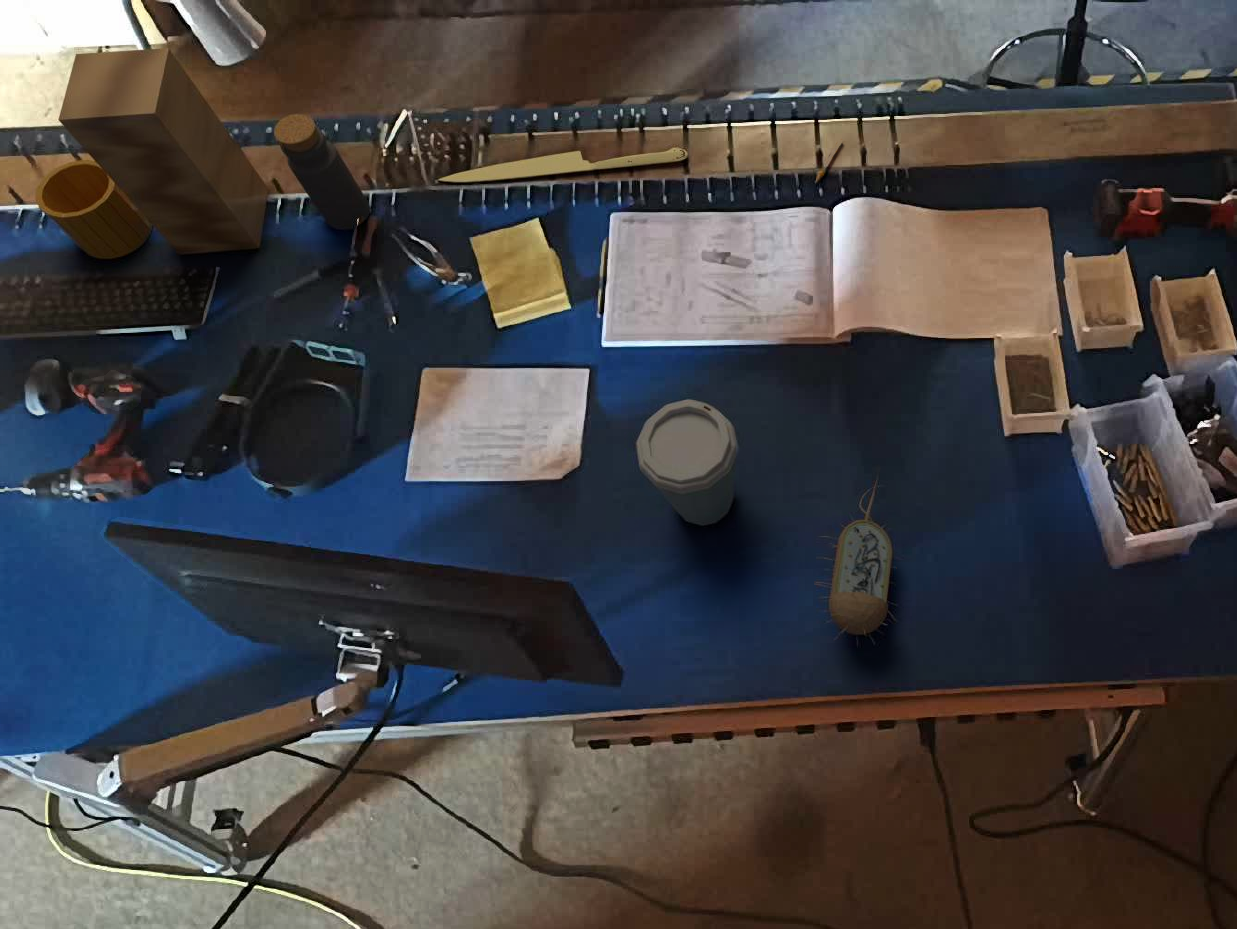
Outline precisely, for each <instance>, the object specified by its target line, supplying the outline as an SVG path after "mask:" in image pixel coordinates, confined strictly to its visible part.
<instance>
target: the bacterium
mask: <svg viewBox="0 0 1237 929" xmlns="http://www.w3.org/2000/svg"><path fill="white" fill-rule="evenodd" d="M877 471H878V472H877V476H876V480H875V483H874V486H873V487H871V488H869V489H868V490H867V491H865V493H864V494H863V495H862V497H861V499H860V501H859V504H858V507H859V510H860V511H861V512H862V513H863V514H864V515H865V517H864V519H858V520H854V518H853V516H850V518H851V520H852V522H850V523H849V524H848V525H846V527H845V526H843V525H842V524H839V526H840V527H843V528H844V529H843V530H842V532H841V533H840V535H839V537H838V538H836V537H832V536H827V535H826V536H825V535H820V536H818V537H819V538H829V539H834V540H837V545H835V544H834V543H831V542H828V544H830V545H831V546H829V547H828V549H830V548H836V554H835V559H832V558H828V557H824V559H825V560H830V561H833V562H834V565H833V573H832V578H830V579H829V578H828V579H827V578H825V579H824V580H825V581H830V580H831V583H828V582H822V581H815V585H816V586H822V587H825V588H829V589H830V593H829V596H820V597H819V596H818V599H820V601H822V602H824V603H826V602H828V609H829V610H822V612H823V613H824V612H827V613H828V612H829V614H830V615H829V616H830V617H831V619H830V620H828V621H826V622H825V624H827V623H830V622H832V621H833V622H834V623H835V625H836V626H837V627H838V630H840V631H839V633H837V634H838V635H837V636H836V637H835V638H834V639H833V641H835V640H836V639H837V638H838V637H839V636H840V634H844V632H845V633H847V634H851V635H855V636H860V635H864V636H867V634H868V636H869V637H870V639H871V641H872V642H873V645H874V646H875V645H876V643H875V641H874V639H873V637H872V636H871V635H870V634H871V633H873V632H874V631H877V632H878V633H880V634H883V635H884V632H881V631H880V630H879V629H878V628H879V627H880V626H881V625H884V626H888V624H886V623H884V621H885V620H886V621H889V622H891V619H887V618H886V617H887V615H888V614H889V615H891V617H892V618H893V620H894V621H896V622H898V623H899V621H898V620H896V619H895V617H894V616H893V615H892V613H891V612H890V611H889V604H891V605H894V606H899V605H898V604H895V603H892V602H891V601H889V600H888V593H889V584H893V585H895V583H894V582H891V581H890V578H891V577H890V575H891V568H893V569H896V566H893V565H892V559H893V558H894V559H897V560H899V561H900V560H902V561H903V559H901V558H899V557H896V556H894V555H893V547H892V543H891V539H890V537H889V535H888V534H887V533H888V530H890V529H891V527H889V528H888V530H886V531H885V530H884V529H883V528H884V527H885V526H886V524H884V525H882V526H880V525H879V524H878V523H876V522H874V521H873V517H872V516H870V513H871V509H872V506H873V502H874V499H875V498H874V497H875V493H876V490H877V488H878V487H883V486H884V485H877V484H878V480H879V475H880V471H881V467H879V468H878V470H877ZM872 489H873V490H872ZM871 490H872V494H871V498H870V501H869V504H868V506H867V510H865V509H864V508H863V507H862V504H863V500H864V498H865V497H866V495H867V494H868V492H870V491H871ZM817 559H822V557H817ZM821 569H822V570H825V571H828V569H827V568H824V567H823V568H822V567H821ZM827 585H829V586H827ZM824 598H825V599H827V600H822V599H824ZM858 646H859V640H858V637H856V647H858Z"/></svg>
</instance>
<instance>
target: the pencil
mask: <svg viewBox="0 0 1237 929" xmlns="http://www.w3.org/2000/svg"><path fill="white" fill-rule="evenodd" d="M825 173H826V171H820V170H819V171H818V172H817V175H816V179H815V183H814V184H817V183H818V182H819V181H820V180H821V179H822V177H823V176H824V175H825Z"/></svg>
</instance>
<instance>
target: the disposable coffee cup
mask: <svg viewBox="0 0 1237 929" xmlns="http://www.w3.org/2000/svg"><path fill="white" fill-rule="evenodd" d="M635 444H636V453H637V459H638V464H639V465H638V466H639V470H640V471H641V473H642V474H644V475H645V476H646V477H647V478H648V480H649V481H650V482H651V483H652V484H653V485H654V486H655V487H656V488H657V489H658V490H659V492H660V493H661V494H662V495H663V497H664V498H665V499H666V500H667V501H668V503H669V504H670V506H672V508H673V509H674V510H675V511H676V512H677V513H678V515H680V516H681V518H682V519H683V520H684V521H685V522H686V523H691V524H694V525H697V526H706V525H707V526H708V525H712V524H716V523H718V522H719V521H720V520H721V519H722V518H724V517H725V516H726V515H727V514H728V513H729V512H730V509H731V506H732V504H733V502H734V497H735V496H734V493H735V475H736V474H735V472H736V457H737V454H738V451H739V446H738V441H737V436H736V431H735V427H734V426H733V424H732V423H731V421H730V420H729V419H728V418H727V417H725V416H724V415H723V413H721V412H720V411H719V410H718V409H716V408H715V407H714V406H712V405H710V404H708V403H705V402H703V401H698V400H694V399H691V398H687V399H684V400H683V399H682V400H679V401H676V402H671V403H667V404H665V405H664V406H663V407H661V408H660V409H659V410H658V411H656V412H655V413H654V414H652V416H651V417H649V418H648V419H647V420H646V421H645V422H644V425H643V427H642V429H641V432H640V433H639V436H638V438H637V440H636V442H635Z"/></svg>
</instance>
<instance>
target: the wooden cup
mask: <svg viewBox="0 0 1237 929" xmlns="http://www.w3.org/2000/svg"><path fill="white" fill-rule="evenodd" d="M35 201H36V204H37V207H38V209H40V211H41V212H42V213H43V214H44V215H45V216H46V217H48V219H49V220H51V222H52V223H54V225H56V226H57V227H58V229H59V230H61V232H63V233H64V235H66V236H67V238H69V239H70V240H71V241H72V242H73V244H75V245H76V246H77V247H78V248H79V249H80V250H81V251H83V252H84V253H85V254H86V255H88V256H90V257H92V258H95V259H101V260H107V259H108V260H110V259H116V258H121V257H124V256H126V255H129V254H130V253H133V252H135V251H136V250H137V249H139V248H140V247H141V246H142V245H143V244H145V242H146V241H147V240H148V238H149V237H150V235H151V233H152V230H153V227H154V226H153V225H152V224H151V223H150V222H149V221H148V220H147V219H146V217H145V216H144V215H143V214H142V213H141V212H140V211H139V210H138V208H137V207H136V206H135V205H134V204H133V203H132V202H131V201H130V200H129V198H128V197H127V196H126V195H125V194H124V193H123V192H122V191H121V189H120V188H119V187H118V186H117V185H116V184H115V183H114V182H113V181H112V179H111V178H110V177H109V176H108V175H107V174H106V173H105V172H104V170H103V169H102V168H101V167H100V166H99V165H98V164H97V163H96V161H95V160H89V159H83V160H76V161H75V160H74V161H70V162H68V163H65V164H62V165H60V166H58V167H56V168H54V169H53V170H52V171H50V172H49V173H48V174H47V175H45V177H43V179H42V180H41V182H40V183H39V184H38V186H37V188H36V193H35Z"/></svg>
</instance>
